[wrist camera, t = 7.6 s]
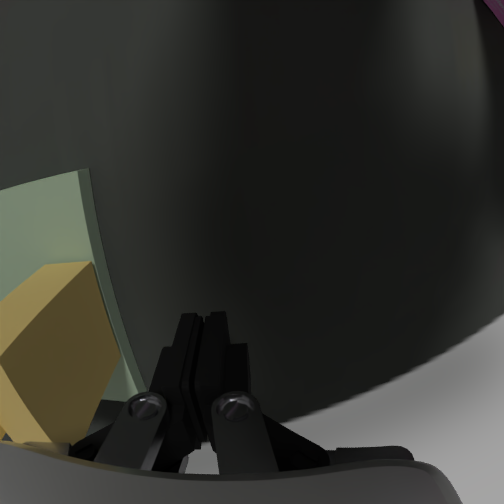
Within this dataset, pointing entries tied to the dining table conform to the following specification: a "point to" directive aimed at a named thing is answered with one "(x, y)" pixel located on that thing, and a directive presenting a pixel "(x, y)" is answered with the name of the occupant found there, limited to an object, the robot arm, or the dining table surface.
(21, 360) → the clip
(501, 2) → the gum box
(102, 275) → the board
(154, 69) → the dining table surface
